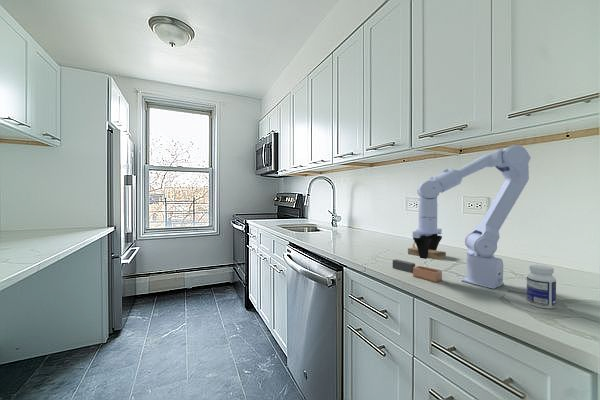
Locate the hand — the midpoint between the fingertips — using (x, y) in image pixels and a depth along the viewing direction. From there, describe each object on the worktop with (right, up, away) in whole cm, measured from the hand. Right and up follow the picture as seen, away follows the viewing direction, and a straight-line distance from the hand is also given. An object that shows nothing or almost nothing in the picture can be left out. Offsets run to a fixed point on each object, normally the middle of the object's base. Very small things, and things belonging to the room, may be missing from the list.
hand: (427, 257), depth 93 cm
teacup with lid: (+14, -7, +35) cm, 38 cm away
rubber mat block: (-4, -7, +11) cm, 13 cm away
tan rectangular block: (0, -7, 0) cm, 7 cm away
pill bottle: (+19, -8, -22) cm, 30 cm away
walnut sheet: (0, 0, 0) cm, 1 cm away
